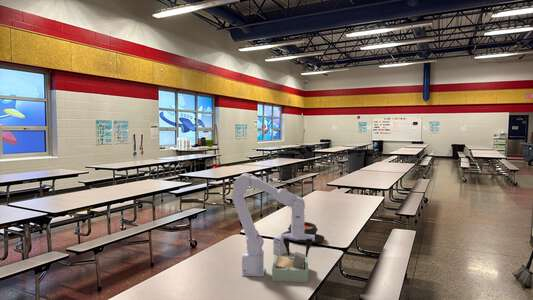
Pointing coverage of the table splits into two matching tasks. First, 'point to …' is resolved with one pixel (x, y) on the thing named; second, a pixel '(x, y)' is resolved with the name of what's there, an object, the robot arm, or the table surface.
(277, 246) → the medicine box
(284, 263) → the trapdoor
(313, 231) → the casserole
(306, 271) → the trapdoor frame
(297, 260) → the gray block
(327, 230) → the table surface
